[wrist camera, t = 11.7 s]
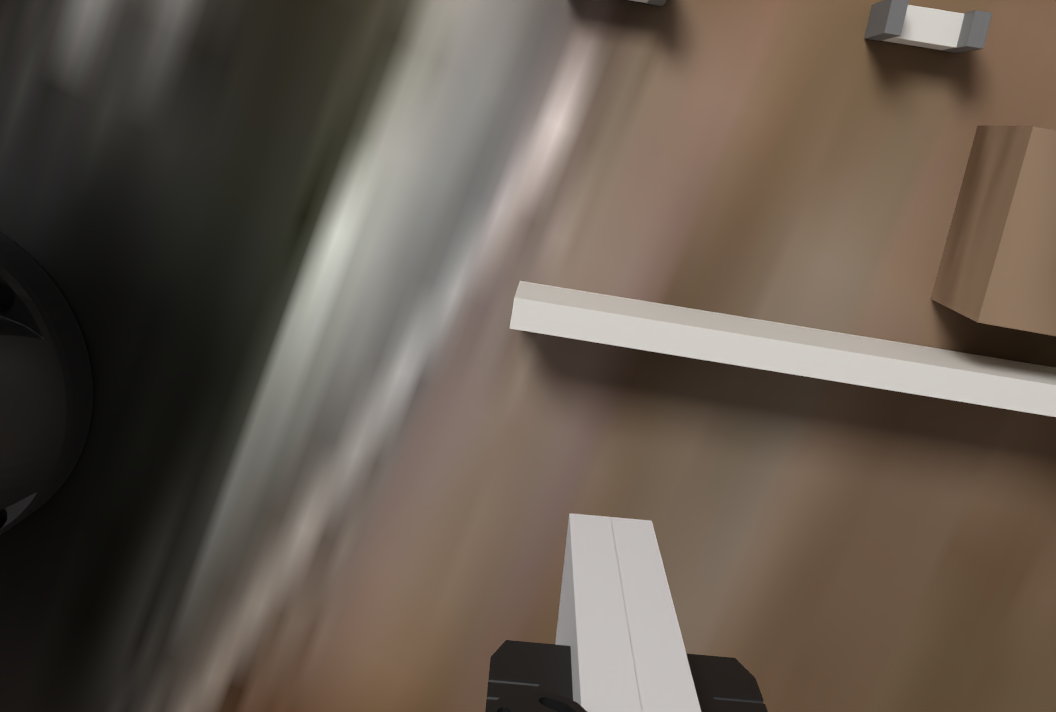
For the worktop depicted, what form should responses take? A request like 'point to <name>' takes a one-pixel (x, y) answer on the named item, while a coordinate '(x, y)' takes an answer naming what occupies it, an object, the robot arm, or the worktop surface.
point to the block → (1004, 232)
